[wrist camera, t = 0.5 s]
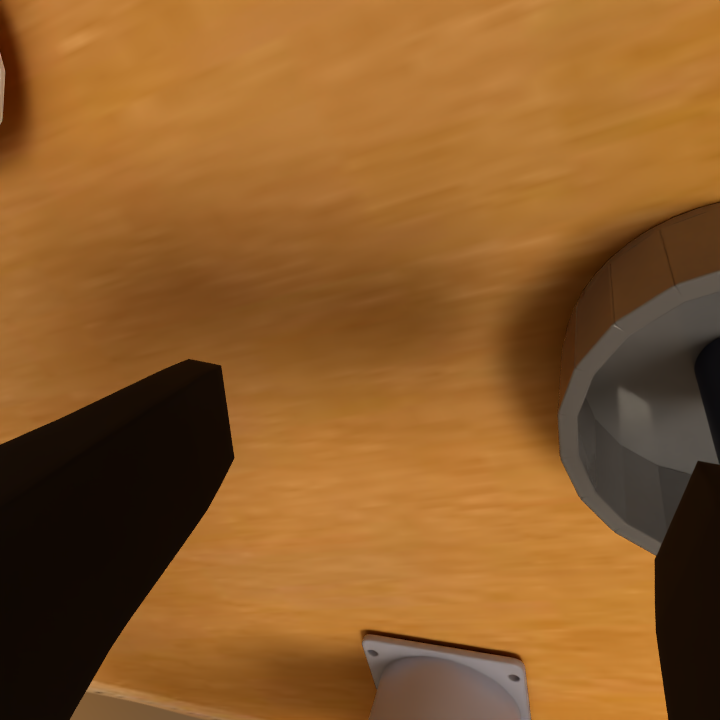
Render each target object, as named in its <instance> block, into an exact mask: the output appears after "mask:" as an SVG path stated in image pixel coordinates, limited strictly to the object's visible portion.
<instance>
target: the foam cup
mask: <svg viewBox="0 0 720 720" xmlns="http://www.w3.org/2000/svg"><path fill="white" fill-rule="evenodd" d="M4 87H5V68H4V65H3V61H2V58H1V54H0V124H1V122H2V120H3V103H4Z"/></svg>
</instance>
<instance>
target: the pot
mask: <svg viewBox="0 0 720 720" xmlns="http://www.w3.org/2000/svg"><path fill="white" fill-rule="evenodd" d="M719 337H720V203H716V204H712V205H708V206H705V207H701V208H697V209H695V210H692V211H690V212H687V213H684V214H682V215H679V216H676V217H674V218H671V219H670V220H668V221H666V222H664V223H662V224H660V225H658V226H656V227H654V228H652V229H650V230H648V231H647V232H645V233H644V234H642V235H640V236H639V237H637V238H636V239H634V240H633V241H631V242H630V243H628V244H627V245H626V246H625V247H623V248H622V249H621V250H620V251H619V252H617V253H616V254H615V255H614V256H613V257H611V258H610V259H609V260H608V261H607V262H606V263H605V264H604V266H603V267H602V268H601V269H600V270H599V271H598V272H597V273H596V274H595V275H594V277H593V278H592V279H591V281H590V282H589V283H588V285H587V286H586V288H585V289H584V290H583V292H582V294H581V296H580V297H579V299H578V301H577V303H576V305H575V307H574V309H573V311H572V314H571V317H570V320H569V323H568V325H567V330H566V335H565V340H564V343H563V346H562V356H561V370H560V385H559V399H558V414H557V417H558V435H559V453H560V457H561V461H562V463H563V465H564V467H565V469H566V471H567V473H568V475H569V477H570V479H571V482H572V484H573V486H574V488H575V490H576V492H577V494H578V496H579V497H580V498H581V500H582V501H583V502H584V503H585V504H586V505H587V506H588V507H589V508H590V509H591V510H592V511H593V512H594V513H595V514H596V515H597V516H598V517H599V518H600V519H601V520H602V521H603V522H604V523H605V524H606V525H607V526H608V527H609V528H610V529H611V530H613V531H614V532H615V533H617V534H618V535H620V536H622V537H624V538H626V539H627V540H629V541H631V542H633V543H634V544H636V545H638V546H640V547H642V548H643V549H645V550H647V551H649V552H650V553H652V554H654V555H656V556H657V553H658V551H659V549H660V547H661V544H662V542H663V540H664V537H665V535H666V533H667V530H668V528H669V526H670V524H671V521H672V519H673V517H674V514H675V512H676V510H677V507H678V505H679V503H680V500H681V498H682V496H683V494H684V491H685V489H686V487H687V484H688V482H689V480H690V477H691V475H692V473H693V470H694V468H695V466H696V464H697V461H703V462H708V463H713V464H718V465H719V462H718V459H717V455H716V451H715V447H714V443H713V440H712V436H711V432H710V428H709V425H708V421H707V417H706V413H705V410H704V406H703V402H702V398H701V394H700V391H699V387H698V383H697V379H696V376H695V362H696V360H697V357H698V355H699V354H700V352H701V351H702V350H703V349H704V348H705V347H706V346H707V345H708V344H709V343H711V342H712V341H714V340H715V339H717V338H719Z"/></svg>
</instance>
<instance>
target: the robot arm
mask: <svg viewBox="0 0 720 720" xmlns="http://www.w3.org/2000/svg"><path fill="white" fill-rule="evenodd" d="M233 460H234V452H233V445H232V438H231V431H230V424H229V417H228V410H227V403H226V396H225V389H224V382H223V375H222V368H221V365H216V364H211V363H206V362H201V361H196V360H191V359H188V360H185V361H183V362H180V363H178V364H175V365H173V366H170V367H168V368H166V369H164V370H161V371H159V372H157V373H155V374H153V375H151V376H148V377H146V378H144V379H142V380H140V381H138V382H136V383H134V384H132V385H130V386H127V387H125V388H123V389H121V390H119V391H117V392H115V393H113V394H111V395H109V396H107V397H105V398H102V399H100V400H98V401H96V402H94V403H92V404H90V405H88V406H86V407H84V408H81V409H79V410H77V411H75V412H73V413H71V414H69V415H67V416H65V417H62V418H60V419H58V420H56V421H54V422H51V423H49V424H47V425H44V426H42V427H40V428H38V429H35V430H33V431H31V432H28V433H26V434H24V435H22V436H19V437H17V438H15V439H12V440H10V441H8V442H6V443H3V444H1V445H0V720H70V718H71V716H72V714H73V713H74V711H75V709H76V707H77V706H78V704H79V702H80V700H81V699H82V697H83V695H84V694H85V692H86V690H87V688H88V687H89V685H90V683H91V681H92V680H93V678H94V676H95V675H96V673H97V671H98V669H99V668H100V666H101V664H102V662H103V661H104V659H105V657H106V655H107V654H108V652H109V650H110V649H111V647H112V646H113V644H114V643H115V641H116V640H117V638H118V636H119V635H120V633H121V632H122V630H123V629H124V627H125V626H126V624H127V623H128V621H129V620H130V619H131V617H132V616H133V614H134V613H135V612H136V610H137V609H138V607H139V606H140V604H141V603H142V602H143V600H144V599H145V597H146V596H147V595H148V593H149V592H150V590H151V589H152V588H153V586H154V585H155V583H156V582H157V581H158V579H159V578H160V576H161V575H162V574H163V572H164V571H165V569H166V568H167V567H168V565H169V564H170V562H171V561H172V560H173V558H174V557H175V555H176V554H177V553H178V551H179V550H180V548H181V547H182V546H183V544H184V543H185V541H186V540H187V538H188V537H189V536H190V534H191V533H192V531H193V530H194V528H195V527H196V526H197V524H198V523H199V521H200V520H201V518H202V517H203V515H204V514H205V512H206V511H207V509H208V508H209V506H210V504H211V502H212V500H213V499H214V497H215V495H216V493H217V491H218V489H219V488H220V486H221V484H222V482H223V480H224V478H225V476H226V474H227V472H228V470H229V468H230V466H231V464H232V462H233ZM655 619H656V635H657V643H658V650H659V657H660V664H661V671H662V678H663V686H664V693H665V699H666V706H667V713H668V720H720V465H718V464H713V463H708V462H703V461H697V464H696V466H695V468H694V470H693V473H692V475H691V477H690V480H689V482H688V484H687V487H686V489H685V491H684V494H683V496H682V498H681V500H680V503H679V505H678V507H677V510H676V512H675V514H674V517H673V519H672V521H671V524H670V526H669V528H668V530H667V533H666V535H665V537H664V540H663V542H662V544H661V547H660V549H659V551H658V553H657V556H656V558H655ZM362 646H363V649H364V652H365V655H366V658H367V661H368V664H369V667H370V670H371V673H372V676H373V679H374V683H375V686H376V689H377V692H376V696H375V699H374V703H373V706H372V709H371V713H370V716H369V720H531V714H530V705H529V697H528V688H527V680H526V671H525V665H524V663H523V662H521V661H520V660H518V659H516V658H512V657H506V656H500V655H494V654H488V653H482V652H476V651H470V650H463V649H457V648H451V647H445V646H439V645H433V644H427V643H421V642H415V641H409V640H403V639H397V638H391V637H385V636H378V635H372V634H368V635H365V636H364V638H363V641H362Z"/></svg>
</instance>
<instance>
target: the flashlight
mask: <svg viewBox="0 0 720 720" xmlns="http://www.w3.org/2000/svg"><path fill="white" fill-rule="evenodd" d="M695 376H696V379H697V383H698V387H699V391H700V394H701V398H702V402H703V406H704V410H705V413H706V417H707V421H708V425H709V428H710V432H711V436H712V440H713V443H714V447H715V451H716V455H717V459H718V462H719V465H720V337H719V338H717V339H715V340H714V341H712V342H711V343H709V344H708V345H707V346H706V347H705V348H704V349H703V350H702V351H701V352H700V354H699V355H698V357H697V360H696V362H695Z"/></svg>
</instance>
